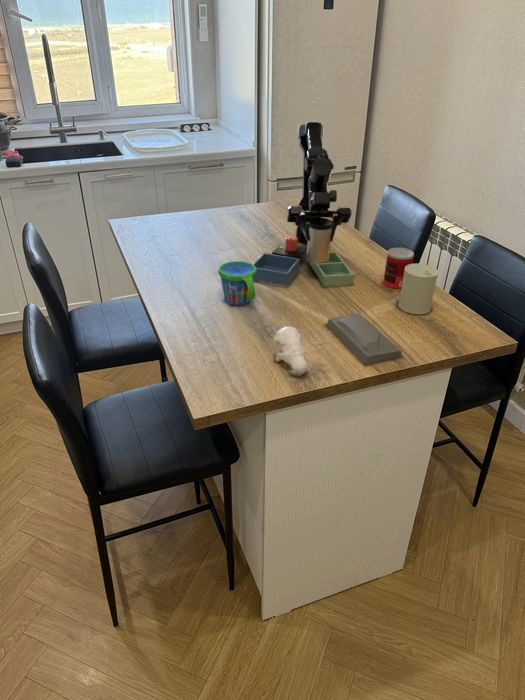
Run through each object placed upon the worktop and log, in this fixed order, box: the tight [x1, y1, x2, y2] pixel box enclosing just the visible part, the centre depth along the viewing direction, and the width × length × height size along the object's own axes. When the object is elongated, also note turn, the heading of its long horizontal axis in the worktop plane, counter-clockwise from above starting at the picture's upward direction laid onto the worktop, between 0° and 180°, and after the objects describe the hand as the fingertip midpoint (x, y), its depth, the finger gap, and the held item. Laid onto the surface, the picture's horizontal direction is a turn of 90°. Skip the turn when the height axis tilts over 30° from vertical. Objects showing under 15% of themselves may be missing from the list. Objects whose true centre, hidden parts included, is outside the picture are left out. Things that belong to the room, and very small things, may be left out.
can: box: [397, 262, 439, 315], centre depth 155 cm, size 9×9×12 cm
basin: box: [252, 252, 301, 287], centre depth 172 cm, size 12×12×5 cm
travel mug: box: [306, 217, 333, 263], centre depth 164 cm, size 7×7×12 cm
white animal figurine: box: [273, 325, 309, 377], centre depth 129 cm, size 6×8×12 cm
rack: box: [307, 250, 355, 286], centre depth 175 cm, size 18×9×4 cm, turn 11°
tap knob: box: [284, 235, 299, 252], centre depth 183 cm, size 4×4×4 cm
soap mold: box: [326, 313, 402, 366], centre depth 141 cm, size 10×20×4 cm, turn 22°
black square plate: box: [271, 241, 307, 265], centre depth 185 cm, size 10×10×3 cm
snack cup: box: [217, 260, 257, 306], centre depth 156 cm, size 16×10×10 cm
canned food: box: [382, 247, 415, 291], centre depth 166 cm, size 8×8×11 cm
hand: (319, 241), depth 163 cm, fingers closed on travel mug, 7 cm apart
